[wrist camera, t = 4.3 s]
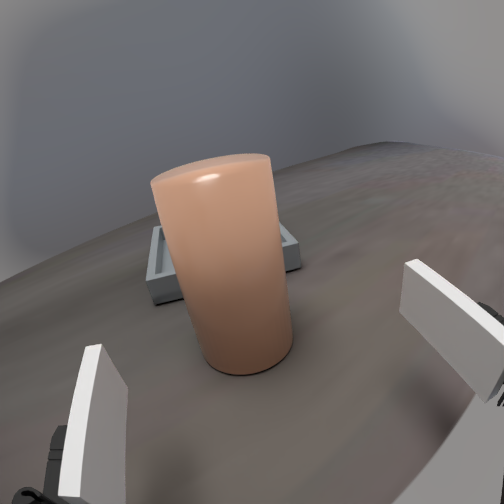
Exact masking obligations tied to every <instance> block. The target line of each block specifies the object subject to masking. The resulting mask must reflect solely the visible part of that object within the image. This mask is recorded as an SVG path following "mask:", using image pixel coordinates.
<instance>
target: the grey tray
mask: <svg viewBox="0 0 504 504" xmlns="http://www.w3.org/2000/svg"><path fill="white" fill-rule="evenodd" d="M279 226H280V233H281V241H282V249H283V256H284V264H285V271H289V270H292V269H296V268H300V267H301V260H300V250H299V243H298V241H297V240H296V239H295V238H294V237H293V236H292V235H291V234H290V233H289V232H288V231H287V230H286V229H285V228H284V227H283V226H282V224H281V223H280V222H279ZM146 283H147V286H148V288H149V291H150V294H151V297H152V299H153V302H154V304H159V303H163V302H167V301H172V300H176V299H180V298H183V295H182V292H181V288H180V285H179V282H178V279H177V276H176V273H175V269H174V266H173V263H172V259H171V256H170V253H169V249H168V246H167V242H166V239H165V236H164V232H163V228H162V225H161V226H157V227H154V229H153V235H152V242H151V248H150V255H149V261H148V269H147V276H146Z"/></svg>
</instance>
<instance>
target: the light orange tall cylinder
mask: <svg viewBox="0 0 504 504" xmlns="http://www.w3.org/2000/svg"><path fill="white" fill-rule="evenodd" d="M151 187H152V191H153V195H154V199H155V203H156V206H157V210H158V214H159V218H160V221H161V225H162V228H163V232H164V236H165V239H166V242H167V246H168V249H169V253H170V256H171V259H172V263H173V266H174V269H175V273H176V276H177V279H178V282H179V285H180V288H181V292H182V295H183V298H184V301H185V304H186V307H187V310H188V313H189V316H190V319H191V322H192V325H193V328H194V330H195V333H196V336H197V339H198V342H199V345H200V347H201V350H202V353H203V356H204V358H205V360H206V361H207V362H208V363H209V364H210V365H211V366H212V367H214V368H215V369H217V370H219V371H221V372H224V373H229V374H236V375H245V374H252V373H257V372H260V371H263V370H266V369H268V368H270V367H272V366H274V365H275V364H277V363H278V362H279V361H281V360H282V359H283V358H284V357H285V356H286V354H287V353H288V352H289V350H290V348H291V346H292V342H293V332H292V323H291V314H290V306H289V297H288V289H287V280H286V272H285V264H284V256H283V249H282V241H281V233H280V226H279V218H278V211H277V204H276V197H275V190H274V183H273V176H272V169H271V162H270V157H269V156H267V155H263V154H236V155H228V156H221V157H216V158H210V159H205V160H201V161H197V162H193V163H190V164H186V165H183V166H179V167H177V168H174V169H172V170H169V171H166V172H164V173H162V174H160V175H158V176H156V177H155V178H154V179H152V180H151Z"/></svg>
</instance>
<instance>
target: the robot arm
mask: <svg viewBox="0 0 504 504" xmlns="http://www.w3.org/2000/svg"><path fill="white" fill-rule="evenodd" d="M399 312H400V313H401V314H402V315H403V316H404V317H405V318H406V319H407V320H408V321H409V323H410V324H411V325H412V326H413V327H414V328H415V329H416V330H417V331H418V332H419V333H420V334H421V335H422V336H423V337H424V338H425V339H426V340H427V341H428V342H429V343H430V344H431V345H432V346H433V347H434V348H435V349H436V350H437V351H438V352H439V354H440V355H441V356H442V357H443V358H444V359H445V360H446V361H447V362H448V363H449V364H450V365H451V366H452V367H453V368H454V370H455V371H456V372H457V373H458V374H459V375H460V376H461V377H462V378H463V379H464V380H465V382H466V383H467V384H468V385H469V386H470V387H471V388H472V389H473V390H474V392H475V393H476V394H477V395H478V396H479V397H480V398H481V399H482V401H483V402H484V403H486V402H487V401H489V400H490V399H491V398H493V397H494V396H495V395H496V394H497V393H498V391H499V390H500V388H501V386H502V384H504V318H503V317H502V316H501V315H498V313H497V312H496V311H495V310H493V309H492V308H491V307H490V306H487V305H485V304H483V303H480V302H478V303H475V302H474V301H473V300H471V299H470V298H469V297H468V296H466V295H465V294H464V293H462V292H461V291H460V290H459V289H457V288H456V287H455V286H453V285H452V284H451V283H449V282H448V281H447V280H445V279H444V278H443V277H441V276H440V275H439V274H437V273H436V272H435V271H433V270H432V269H431V268H429V267H428V266H426V265H425V264H424V263H422V262H421V261H420V260H418V259H415V260H412V261H409V262H406V263H405V264H404V275H403V284H402V293H401V302H400V309H399ZM127 400H128V387H127V386H126V384H125V383H124V381H123V379H122V378H121V376H120V374H119V373H118V371H117V369H116V368H115V366H114V364H113V363H112V361H111V359H110V357H109V356H108V354H107V352H106V350H105V349H104V347H103V345H102V344H98V345H93V346H88V347H86V348H85V352H84V355H83V359H82V363H81V367H80V371H79V375H78V379H77V383H76V388H75V392H74V396H73V401H72V406H71V411H70V416H69V421H68V425H64V426H58V427H57V429H56V431H55V433H54V434H53V436H52V439H51V444H50V452H49V455H48V460H49V461H47V468H46V474H45V481H44V489H43V494H42V493H40V492H39V491H37V490H36V489H34V488H32V487H24V488H22V489H19V490H18V491H17V493H16V494H15V495H14V498H13V500H12V504H126V498H125V442H126V417H127ZM503 400H504V392H503V394H502V396H501V397H500V399H499V401H498V404H497V406H500V405H501V403H502V401H503ZM503 406H504V404H503ZM500 504H504V478H503V487H502V496H501V503H500Z"/></svg>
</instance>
